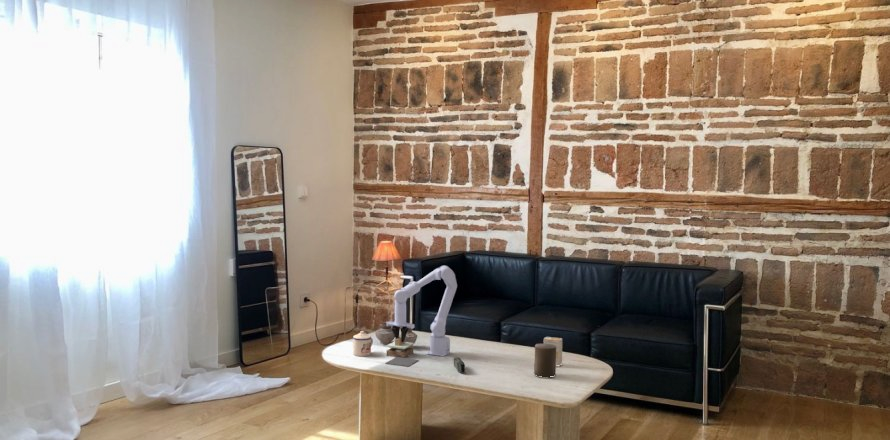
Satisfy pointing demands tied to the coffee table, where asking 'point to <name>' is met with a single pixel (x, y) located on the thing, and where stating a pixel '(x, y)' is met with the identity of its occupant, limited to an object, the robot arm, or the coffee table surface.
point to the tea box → (399, 352)
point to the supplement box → (558, 344)
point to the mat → (402, 361)
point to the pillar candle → (545, 360)
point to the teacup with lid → (362, 344)
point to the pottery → (387, 335)
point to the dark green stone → (459, 365)
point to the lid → (399, 344)
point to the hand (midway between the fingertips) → (400, 341)
